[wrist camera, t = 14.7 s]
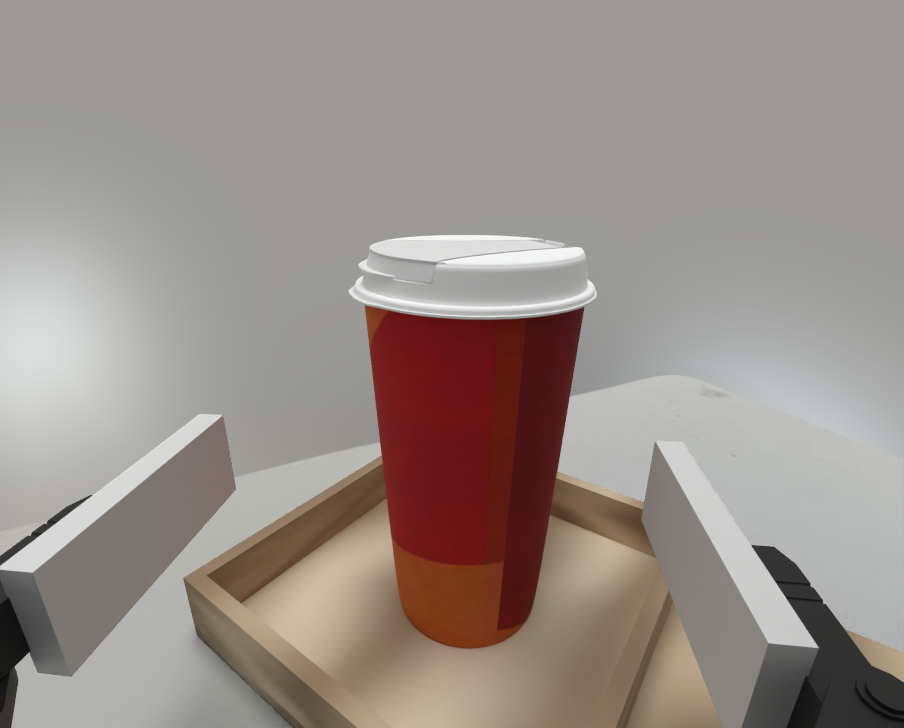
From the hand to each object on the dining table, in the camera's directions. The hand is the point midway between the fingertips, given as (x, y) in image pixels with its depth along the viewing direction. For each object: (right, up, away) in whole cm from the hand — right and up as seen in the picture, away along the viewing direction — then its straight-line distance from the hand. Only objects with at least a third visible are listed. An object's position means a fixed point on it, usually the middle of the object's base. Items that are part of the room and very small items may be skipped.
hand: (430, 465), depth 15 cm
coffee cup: (+1, -7, +7) cm, 10 cm away
